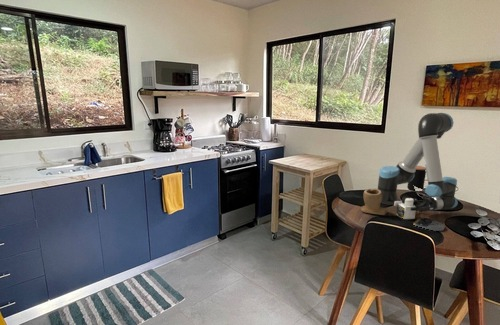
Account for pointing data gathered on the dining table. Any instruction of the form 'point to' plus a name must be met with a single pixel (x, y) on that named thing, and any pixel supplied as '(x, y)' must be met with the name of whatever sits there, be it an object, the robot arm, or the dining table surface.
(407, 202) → the medicine bottle
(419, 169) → the coffee jar
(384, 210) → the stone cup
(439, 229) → the d plate
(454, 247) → the dining table surface
